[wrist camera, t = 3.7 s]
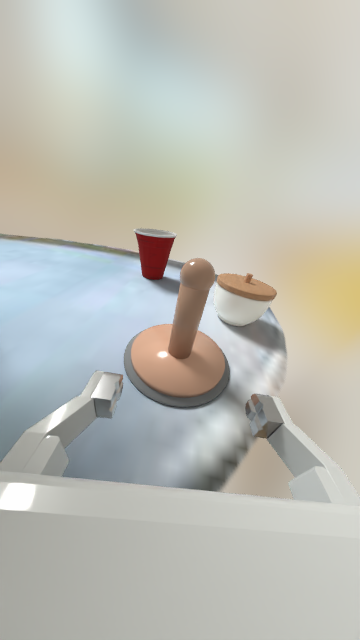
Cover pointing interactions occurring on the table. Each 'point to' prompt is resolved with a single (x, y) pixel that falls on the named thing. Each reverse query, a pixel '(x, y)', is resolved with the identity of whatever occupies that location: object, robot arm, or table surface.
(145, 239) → the plastic cup
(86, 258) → the table surface
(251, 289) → the lidded jar
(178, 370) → the lid
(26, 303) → the table surface
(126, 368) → the coaster
